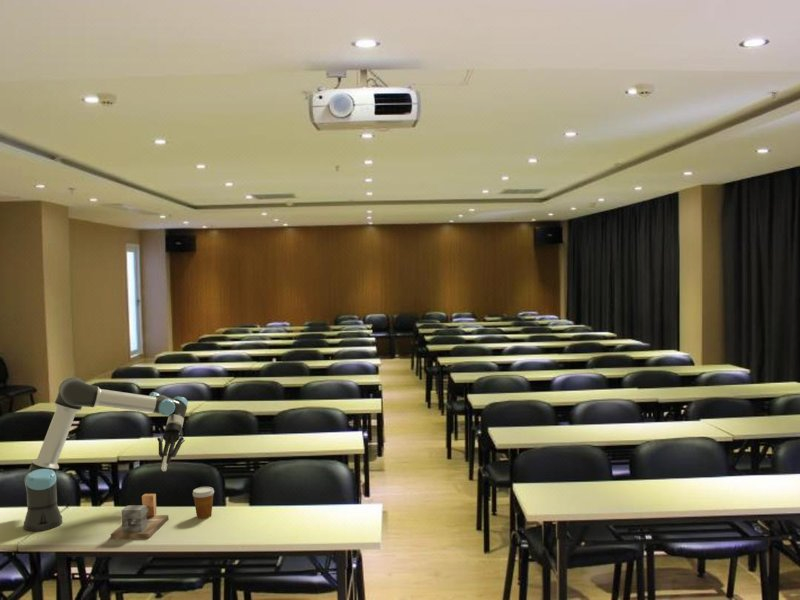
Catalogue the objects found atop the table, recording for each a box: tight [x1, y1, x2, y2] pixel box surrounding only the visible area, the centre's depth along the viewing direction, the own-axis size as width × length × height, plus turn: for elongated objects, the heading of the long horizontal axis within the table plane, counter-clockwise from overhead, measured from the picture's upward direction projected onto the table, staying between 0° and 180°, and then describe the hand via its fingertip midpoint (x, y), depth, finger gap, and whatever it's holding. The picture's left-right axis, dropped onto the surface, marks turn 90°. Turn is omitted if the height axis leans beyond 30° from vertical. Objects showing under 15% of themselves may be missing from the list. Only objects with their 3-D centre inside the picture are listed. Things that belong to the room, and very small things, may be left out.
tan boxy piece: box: [141, 493, 158, 516], centre depth 304 cm, size 5×13×9 cm, turn 178°
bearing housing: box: [110, 504, 170, 540], centre depth 299 cm, size 16×22×11 cm
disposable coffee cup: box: [192, 486, 215, 520], centre depth 313 cm, size 10×10×12 cm
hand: (163, 469), depth 326 cm, fingers closed
